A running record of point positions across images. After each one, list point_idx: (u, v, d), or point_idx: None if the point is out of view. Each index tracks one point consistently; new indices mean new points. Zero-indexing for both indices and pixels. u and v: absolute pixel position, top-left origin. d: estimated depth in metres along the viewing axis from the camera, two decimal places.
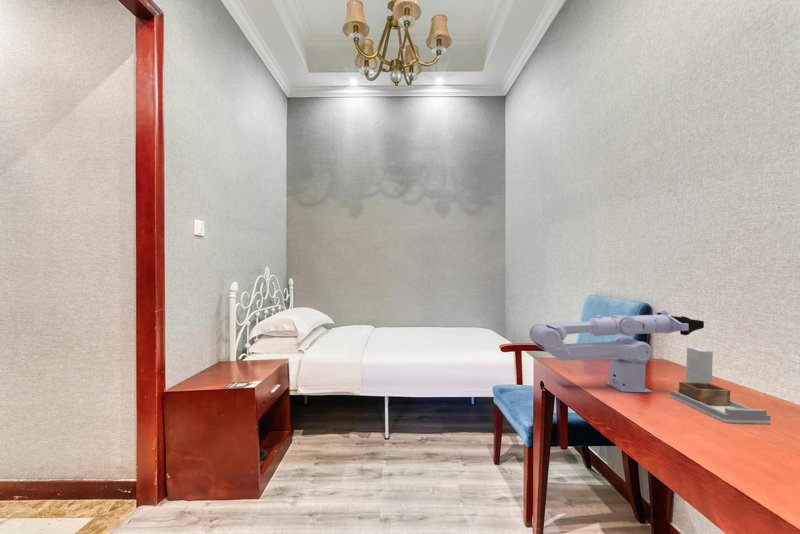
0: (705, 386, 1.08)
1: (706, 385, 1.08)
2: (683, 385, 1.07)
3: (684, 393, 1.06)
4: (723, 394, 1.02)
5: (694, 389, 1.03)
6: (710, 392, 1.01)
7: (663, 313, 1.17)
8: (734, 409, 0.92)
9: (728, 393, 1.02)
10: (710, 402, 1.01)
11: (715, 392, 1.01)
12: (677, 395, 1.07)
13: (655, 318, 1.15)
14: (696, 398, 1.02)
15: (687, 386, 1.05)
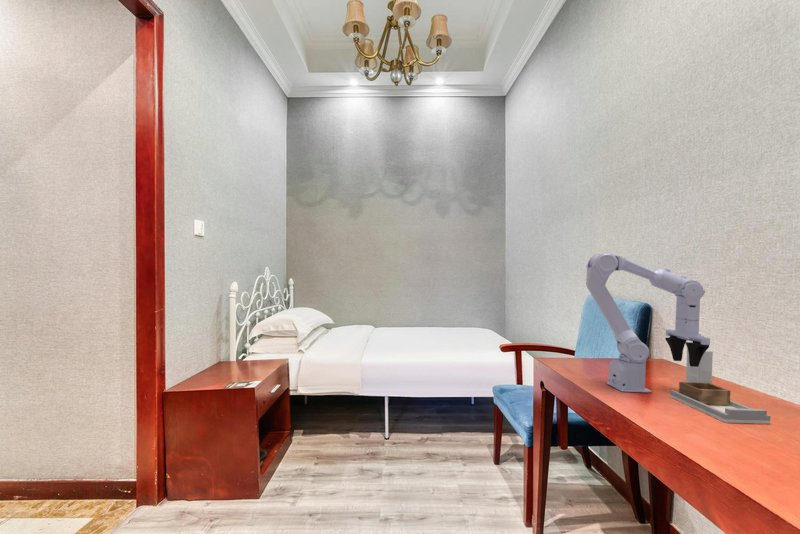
0: (705, 386, 1.08)
1: (706, 385, 1.08)
2: (683, 385, 1.07)
3: (684, 393, 1.06)
4: (723, 394, 1.02)
5: (694, 389, 1.03)
6: (710, 392, 1.01)
7: None
8: (734, 409, 0.92)
9: (728, 393, 1.02)
10: (710, 402, 1.01)
11: (715, 392, 1.01)
12: (677, 395, 1.07)
13: None
14: (696, 398, 1.02)
15: (687, 386, 1.05)
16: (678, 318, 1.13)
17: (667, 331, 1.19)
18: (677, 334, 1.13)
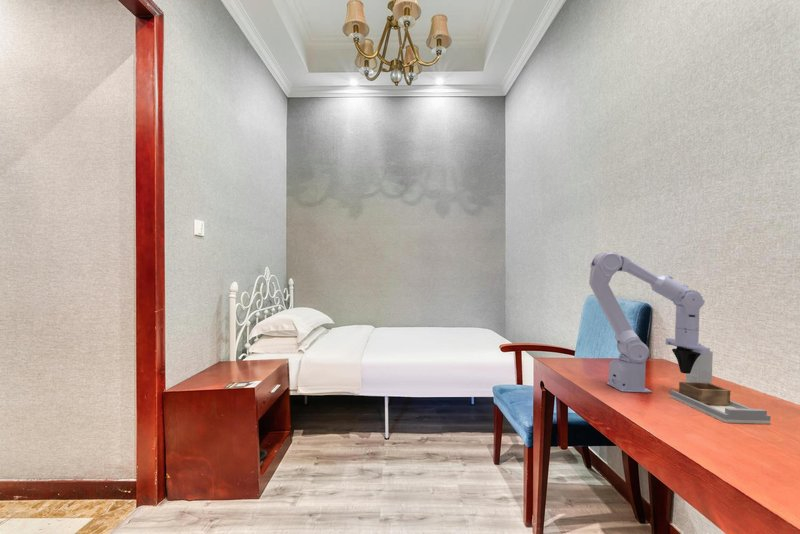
0: (705, 386, 1.08)
1: (706, 385, 1.08)
2: (683, 385, 1.07)
3: (684, 393, 1.06)
4: (723, 394, 1.02)
5: (694, 389, 1.03)
6: (710, 392, 1.01)
7: None
8: (734, 409, 0.92)
9: (728, 393, 1.02)
10: (710, 402, 1.01)
11: (715, 392, 1.01)
12: (677, 395, 1.07)
13: (698, 330, 1.11)
14: (696, 398, 1.02)
15: (687, 386, 1.05)
16: (678, 327, 1.13)
17: (667, 340, 1.19)
18: (677, 343, 1.13)
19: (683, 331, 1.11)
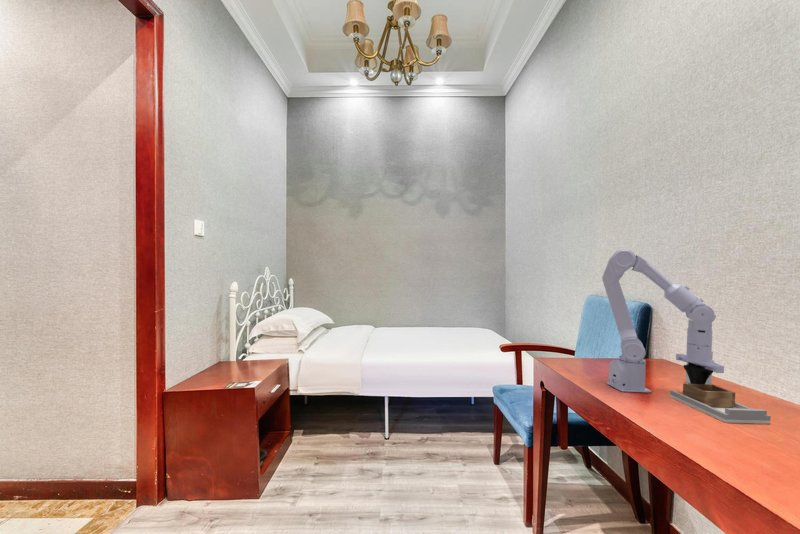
0: (709, 388, 1.06)
1: (710, 387, 1.06)
2: (687, 387, 1.05)
3: (688, 395, 1.05)
4: (728, 396, 1.00)
5: (698, 391, 1.01)
6: (715, 394, 1.00)
7: None
8: (734, 409, 0.92)
9: (733, 395, 1.00)
10: (715, 404, 1.00)
11: (720, 394, 1.00)
12: (677, 395, 1.07)
13: (711, 346, 1.06)
14: (700, 400, 1.01)
15: (691, 388, 1.04)
16: (690, 343, 1.08)
17: (677, 355, 1.15)
18: (689, 360, 1.08)
19: (695, 347, 1.07)
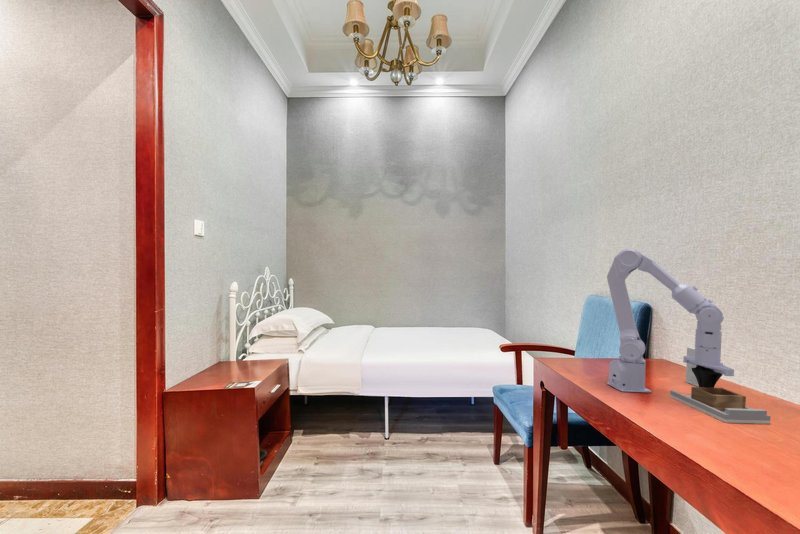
0: (718, 391, 1.03)
1: (720, 390, 1.03)
2: (696, 390, 1.02)
3: (697, 399, 1.02)
4: (738, 400, 0.97)
5: (708, 395, 0.98)
6: (725, 397, 0.97)
7: None
8: (734, 409, 0.92)
9: (743, 399, 0.97)
10: None
11: (730, 398, 0.97)
12: (677, 395, 1.07)
13: (720, 349, 1.04)
14: (710, 404, 0.98)
15: (700, 391, 1.01)
16: (698, 346, 1.05)
17: (685, 358, 1.12)
18: (697, 363, 1.05)
19: (704, 350, 1.04)
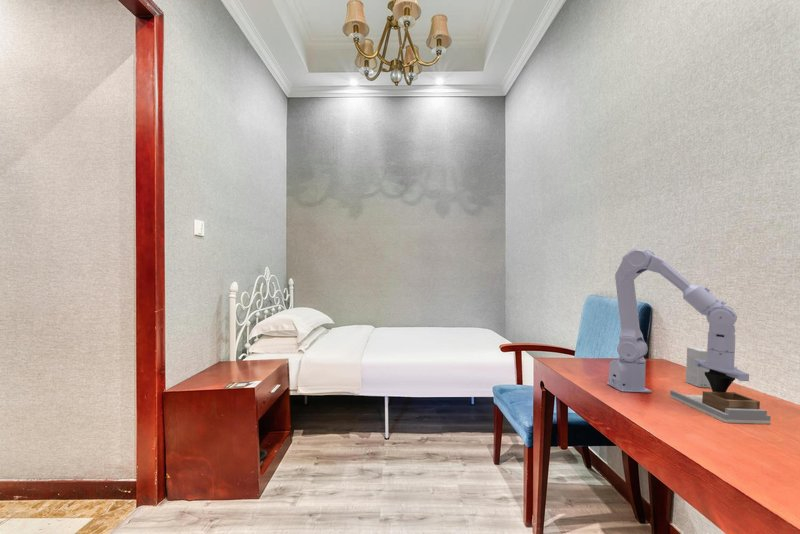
0: (730, 396, 1.00)
1: (732, 395, 1.00)
2: (707, 395, 0.99)
3: (708, 404, 0.98)
4: (752, 405, 0.93)
5: (720, 400, 0.95)
6: (738, 403, 0.93)
7: None
8: (734, 409, 0.92)
9: (757, 404, 0.94)
10: None
11: (743, 403, 0.93)
12: (677, 395, 1.07)
13: (734, 352, 0.99)
14: (722, 409, 0.94)
15: (712, 396, 0.97)
16: (711, 349, 1.01)
17: (696, 361, 1.08)
18: (709, 367, 1.01)
19: (717, 353, 1.00)
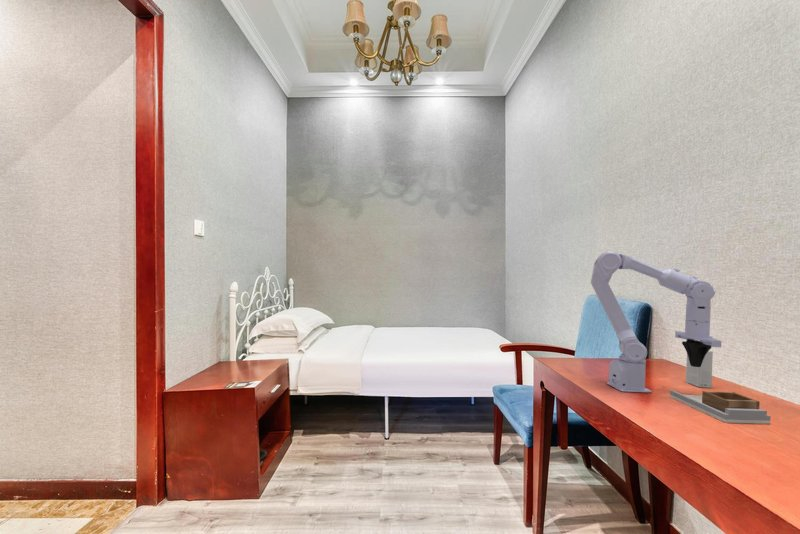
0: (730, 396, 1.00)
1: (731, 395, 1.00)
2: (707, 395, 0.99)
3: (708, 403, 0.98)
4: (752, 405, 0.94)
5: (720, 399, 0.95)
6: (738, 403, 0.93)
7: None
8: (734, 409, 0.92)
9: (757, 404, 0.94)
10: None
11: (743, 403, 0.93)
12: (677, 395, 1.07)
13: (709, 322, 1.08)
14: (722, 409, 0.94)
15: (712, 396, 0.97)
16: (688, 320, 1.10)
17: (677, 333, 1.16)
18: (687, 336, 1.10)
19: (694, 323, 1.08)
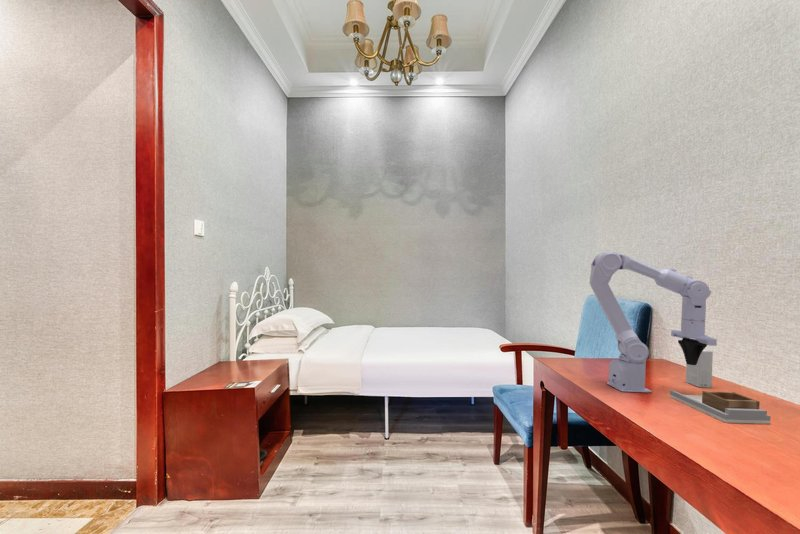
0: (730, 396, 1.00)
1: (731, 395, 1.00)
2: (707, 395, 0.99)
3: (708, 403, 0.98)
4: (752, 405, 0.94)
5: (720, 399, 0.95)
6: (738, 403, 0.93)
7: None
8: (734, 409, 0.92)
9: (757, 404, 0.94)
10: None
11: (743, 403, 0.93)
12: (677, 395, 1.07)
13: None
14: (722, 409, 0.94)
15: (712, 396, 0.97)
16: (684, 319, 1.12)
17: (672, 332, 1.18)
18: (683, 335, 1.12)
19: (689, 322, 1.10)
